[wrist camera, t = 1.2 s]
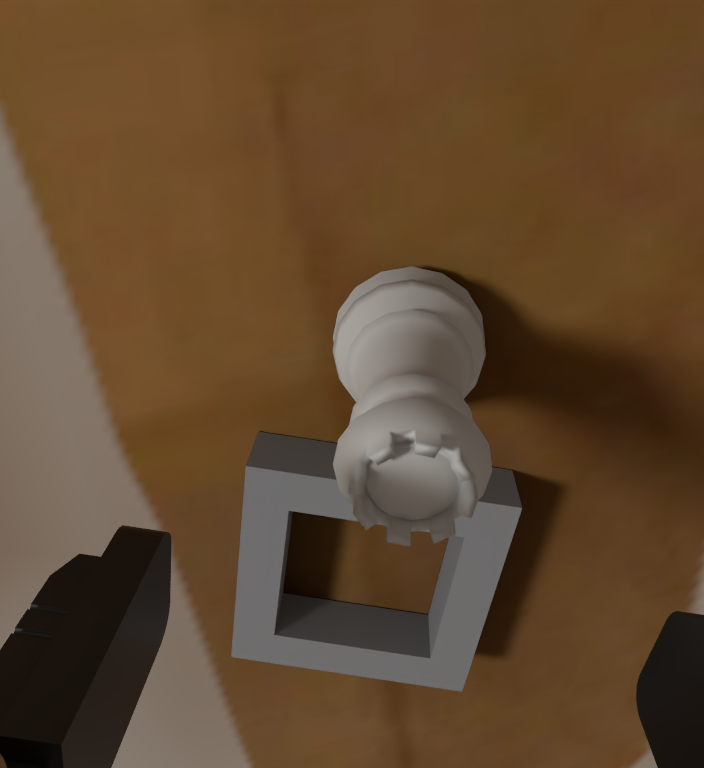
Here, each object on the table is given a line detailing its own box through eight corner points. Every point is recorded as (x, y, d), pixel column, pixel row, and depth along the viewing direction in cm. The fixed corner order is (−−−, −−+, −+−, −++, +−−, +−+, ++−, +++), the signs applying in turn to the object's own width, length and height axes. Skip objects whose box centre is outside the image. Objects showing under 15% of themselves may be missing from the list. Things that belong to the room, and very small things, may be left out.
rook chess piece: (442, 418, 21) (464, 609, 14) (312, 366, 21) (266, 538, 13) (510, 297, 19) (576, 449, 12) (369, 237, 19) (350, 357, 11)
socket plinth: (258, 431, 22) (245, 466, 20) (512, 469, 22) (522, 508, 20) (243, 614, 26) (231, 656, 24) (457, 646, 26) (462, 691, 24)
